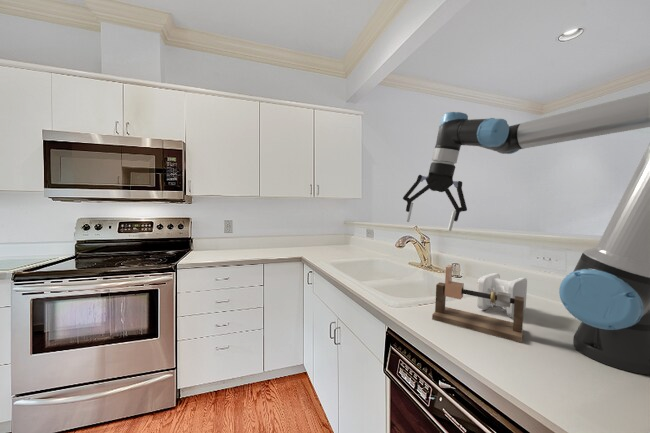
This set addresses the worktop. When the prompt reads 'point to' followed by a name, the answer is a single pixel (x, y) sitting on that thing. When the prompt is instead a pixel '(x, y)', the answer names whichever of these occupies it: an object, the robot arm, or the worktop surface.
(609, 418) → the worktop surface
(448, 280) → the tan wooden l-shaped block
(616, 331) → the robot arm
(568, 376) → the worktop surface
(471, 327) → the brown rod stand
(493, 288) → the cable organizer
